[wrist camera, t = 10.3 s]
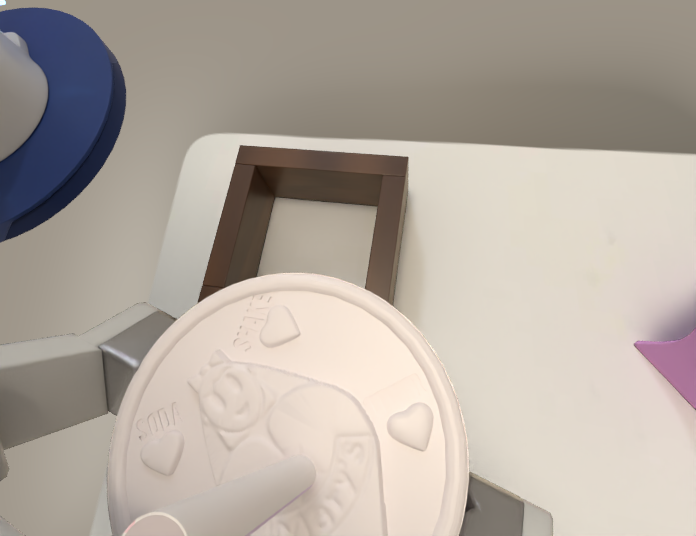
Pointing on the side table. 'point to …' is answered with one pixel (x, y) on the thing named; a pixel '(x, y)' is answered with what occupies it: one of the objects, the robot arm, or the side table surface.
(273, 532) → the smoothie
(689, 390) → the toy chair
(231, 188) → the crate
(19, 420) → the robot arm
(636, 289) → the side table surface
